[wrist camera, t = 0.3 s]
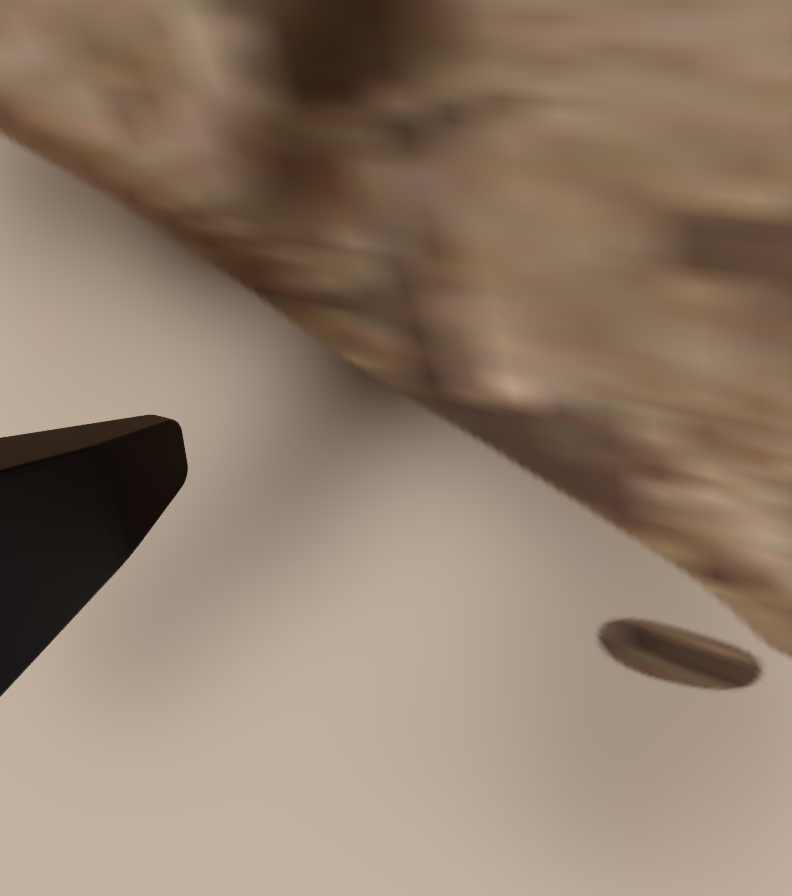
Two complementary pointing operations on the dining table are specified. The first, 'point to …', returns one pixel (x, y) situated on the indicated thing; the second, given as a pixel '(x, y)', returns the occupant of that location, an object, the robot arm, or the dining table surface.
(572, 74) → the dining table surface
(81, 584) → the robot arm
